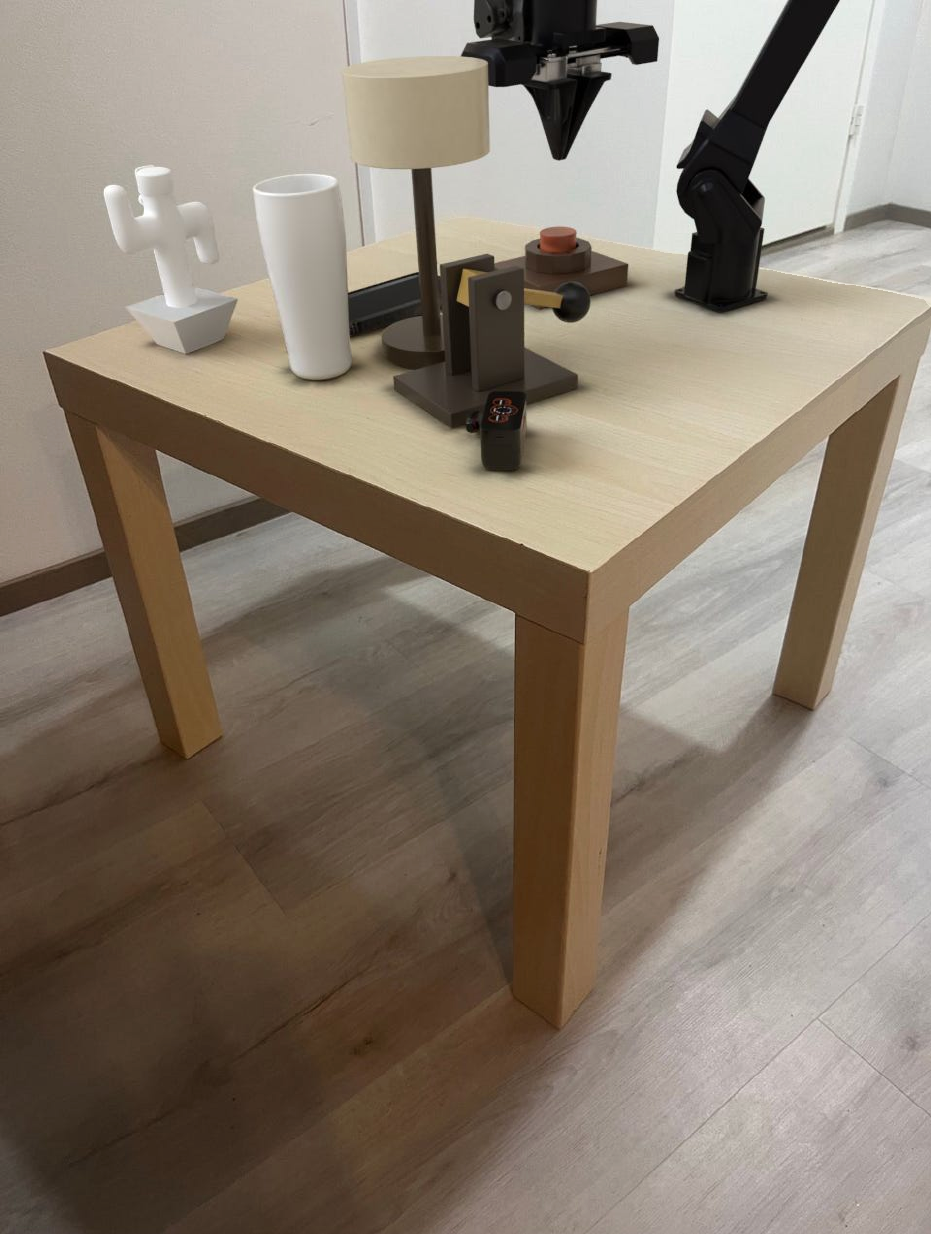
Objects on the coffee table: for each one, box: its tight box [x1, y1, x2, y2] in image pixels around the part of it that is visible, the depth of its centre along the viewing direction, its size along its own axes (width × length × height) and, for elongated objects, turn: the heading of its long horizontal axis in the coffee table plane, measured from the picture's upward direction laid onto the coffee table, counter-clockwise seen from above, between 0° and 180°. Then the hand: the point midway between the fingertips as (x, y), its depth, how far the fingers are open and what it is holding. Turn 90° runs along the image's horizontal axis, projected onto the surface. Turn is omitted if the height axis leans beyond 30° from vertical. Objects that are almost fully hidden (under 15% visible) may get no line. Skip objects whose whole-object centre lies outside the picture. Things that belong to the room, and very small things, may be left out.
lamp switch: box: [392, 253, 579, 429], centre depth 73 cm, size 12×9×10 cm
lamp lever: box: [457, 269, 592, 324], centre depth 74 cm, size 12×3×3 cm, turn 122°
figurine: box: [103, 164, 239, 355], centre depth 83 cm, size 7×9×15 cm
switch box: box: [494, 237, 629, 310], centre depth 95 cm, size 11×9×4 cm
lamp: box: [341, 55, 491, 370], centre depth 77 cm, size 11×11×22 cm
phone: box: [348, 271, 442, 337], centre depth 92 cm, size 8×1×15 cm
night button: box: [539, 226, 578, 252], centre depth 93 cm, size 4×4×2 cm
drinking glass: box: [252, 173, 353, 381], centre depth 76 cm, size 7×7×15 cm
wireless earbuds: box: [464, 391, 528, 471], centre depth 67 cm, size 5×7×3 cm, turn 173°
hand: (559, 159), depth 88 cm, fingers closed
